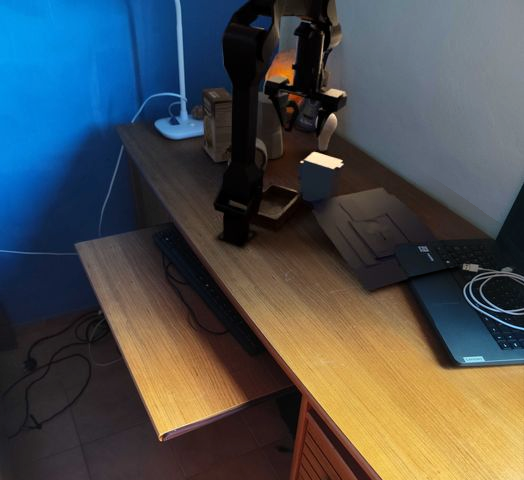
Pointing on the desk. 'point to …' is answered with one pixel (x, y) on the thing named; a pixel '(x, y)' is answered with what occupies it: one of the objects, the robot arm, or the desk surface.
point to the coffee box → (217, 123)
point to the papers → (370, 232)
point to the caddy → (276, 206)
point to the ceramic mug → (259, 154)
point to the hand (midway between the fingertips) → (300, 131)
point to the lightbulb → (327, 132)
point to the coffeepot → (273, 125)
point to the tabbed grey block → (319, 176)
